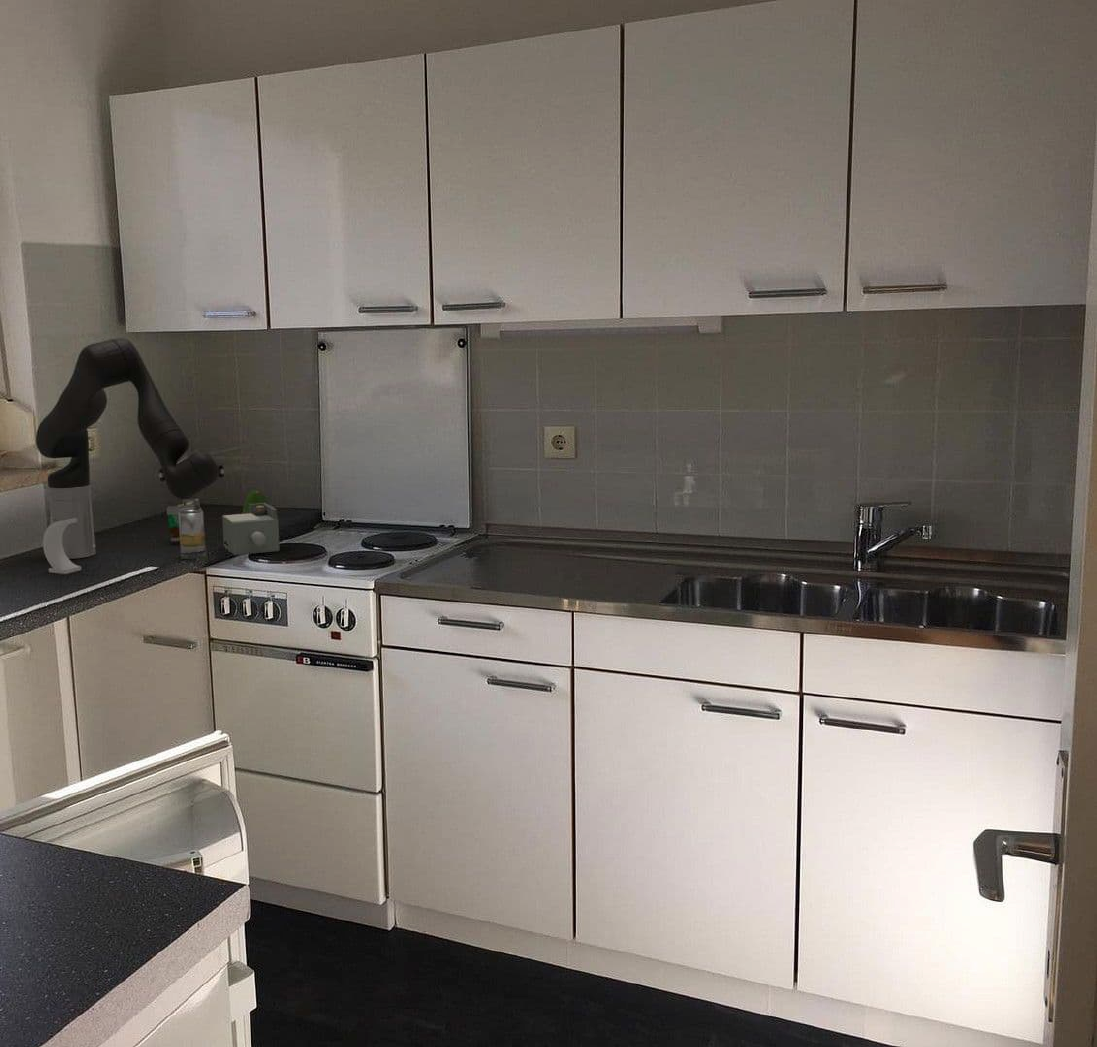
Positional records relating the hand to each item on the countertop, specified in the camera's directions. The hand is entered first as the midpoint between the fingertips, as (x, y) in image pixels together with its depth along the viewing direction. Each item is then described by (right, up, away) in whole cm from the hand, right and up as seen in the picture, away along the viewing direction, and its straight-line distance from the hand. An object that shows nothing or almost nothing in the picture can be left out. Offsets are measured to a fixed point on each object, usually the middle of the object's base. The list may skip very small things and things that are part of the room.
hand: (191, 472), depth 245 cm
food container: (-11, -17, +32) cm, 37 cm away
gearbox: (+9, -18, +19) cm, 28 cm away
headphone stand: (-28, -23, -3) cm, 36 cm away
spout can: (-3, -20, +12) cm, 23 cm away
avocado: (+5, -15, +40) cm, 43 cm away
